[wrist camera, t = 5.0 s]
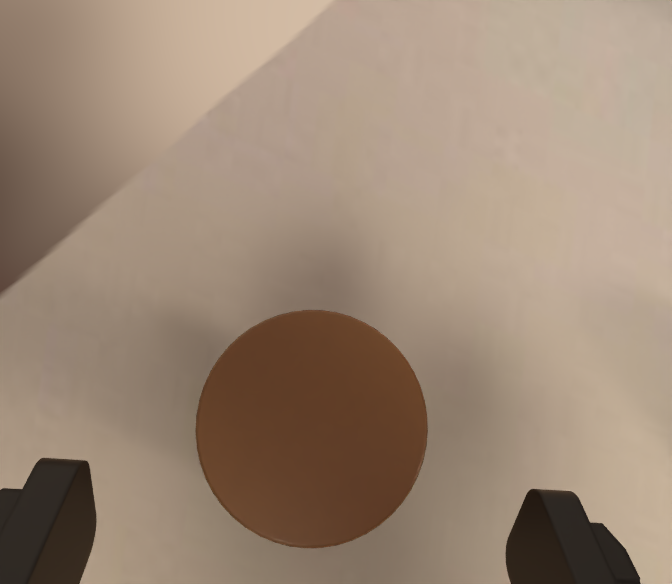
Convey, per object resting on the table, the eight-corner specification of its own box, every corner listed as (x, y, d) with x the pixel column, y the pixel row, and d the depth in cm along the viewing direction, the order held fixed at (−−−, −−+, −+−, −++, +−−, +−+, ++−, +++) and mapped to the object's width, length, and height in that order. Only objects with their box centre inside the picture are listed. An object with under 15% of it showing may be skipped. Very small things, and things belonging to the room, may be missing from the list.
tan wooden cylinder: (283, 526, 21) (299, 643, 9) (197, 422, 21) (110, 410, 10) (381, 434, 22) (506, 436, 10) (297, 337, 23) (326, 235, 11)
